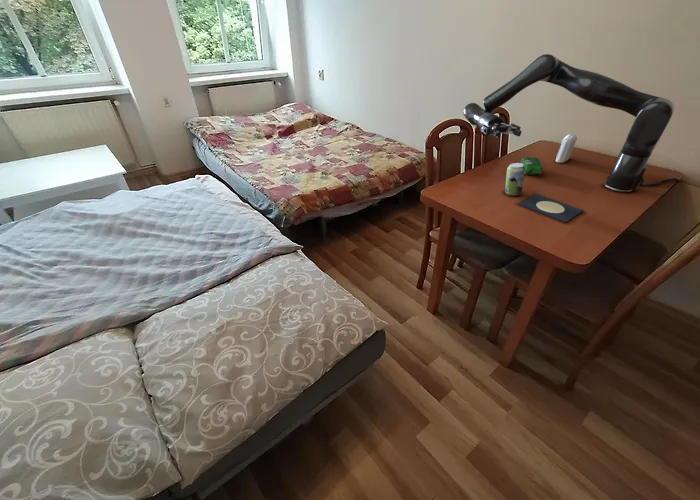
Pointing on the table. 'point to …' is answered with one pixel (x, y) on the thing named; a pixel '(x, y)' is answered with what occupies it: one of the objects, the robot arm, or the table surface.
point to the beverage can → (514, 178)
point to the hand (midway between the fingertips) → (509, 134)
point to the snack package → (532, 165)
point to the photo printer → (566, 148)
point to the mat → (551, 208)
